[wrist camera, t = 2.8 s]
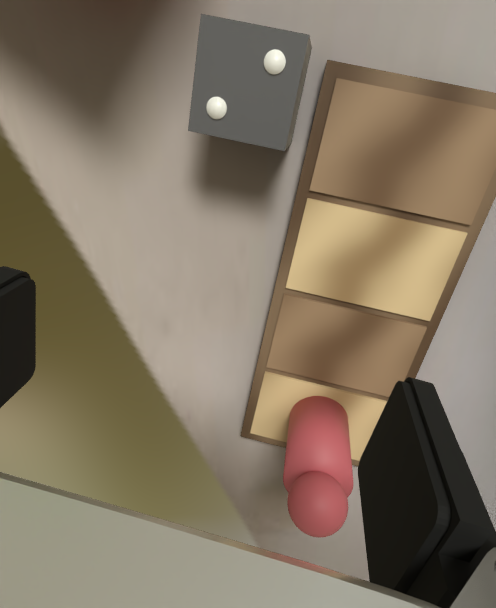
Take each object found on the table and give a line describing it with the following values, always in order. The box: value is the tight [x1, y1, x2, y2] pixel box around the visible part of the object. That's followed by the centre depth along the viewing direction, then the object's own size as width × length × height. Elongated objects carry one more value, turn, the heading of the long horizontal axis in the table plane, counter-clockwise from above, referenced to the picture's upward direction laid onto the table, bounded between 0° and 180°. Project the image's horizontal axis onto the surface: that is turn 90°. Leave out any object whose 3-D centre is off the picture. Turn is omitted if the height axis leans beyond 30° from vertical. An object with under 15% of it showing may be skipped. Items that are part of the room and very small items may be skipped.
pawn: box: [283, 396, 353, 537], centre depth 28 cm, size 4×4×9 cm
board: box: [241, 60, 496, 466], centre depth 29 cm, size 11×27×1 cm, turn 170°
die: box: [188, 14, 312, 151], centre depth 22 cm, size 5×5×5 cm
